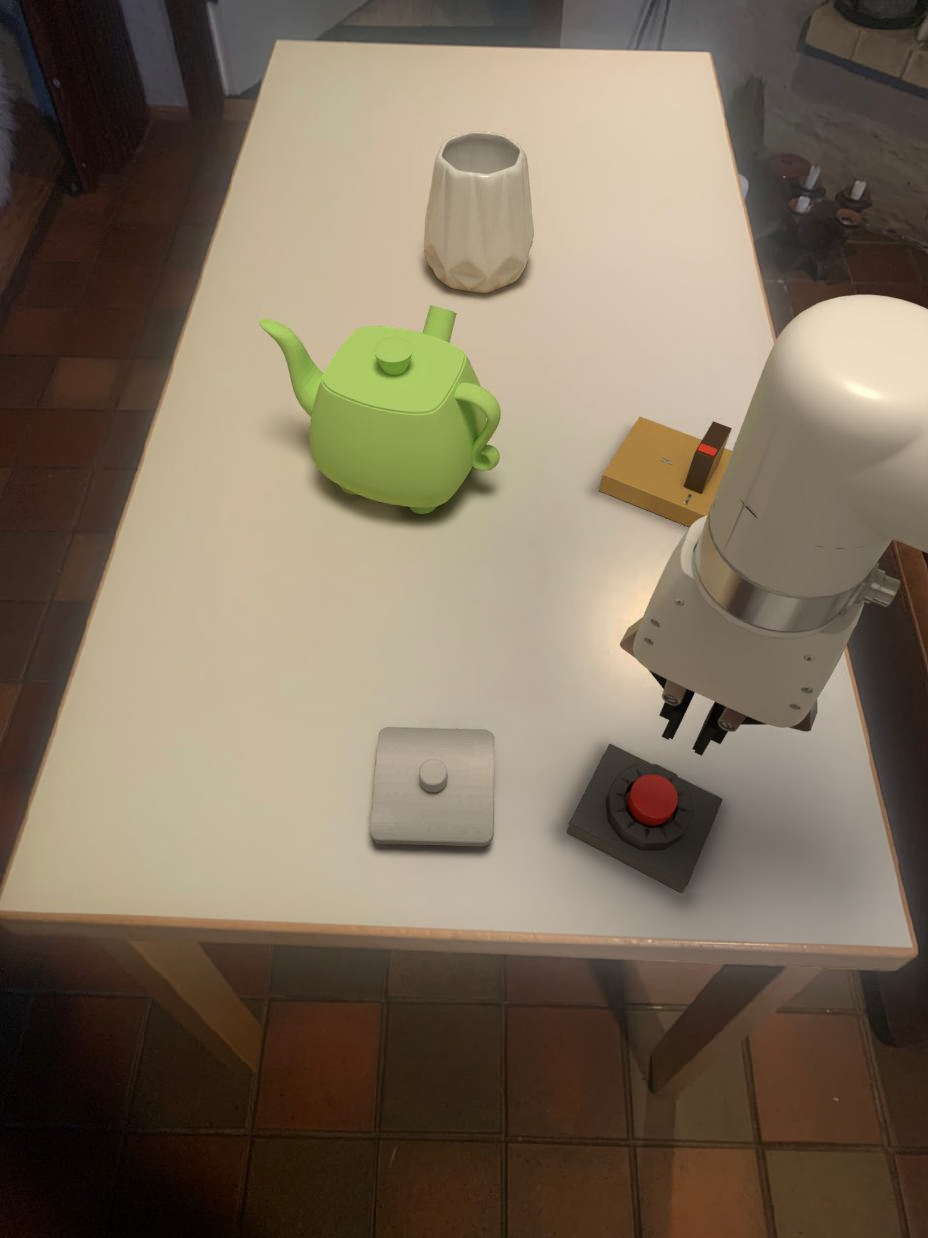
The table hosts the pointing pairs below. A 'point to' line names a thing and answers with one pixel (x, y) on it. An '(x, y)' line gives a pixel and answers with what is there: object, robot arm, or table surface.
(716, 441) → the lock knob
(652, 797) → the button
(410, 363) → the teapot
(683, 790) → the button base
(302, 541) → the table surface
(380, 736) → the light switch
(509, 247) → the vase
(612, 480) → the plate
